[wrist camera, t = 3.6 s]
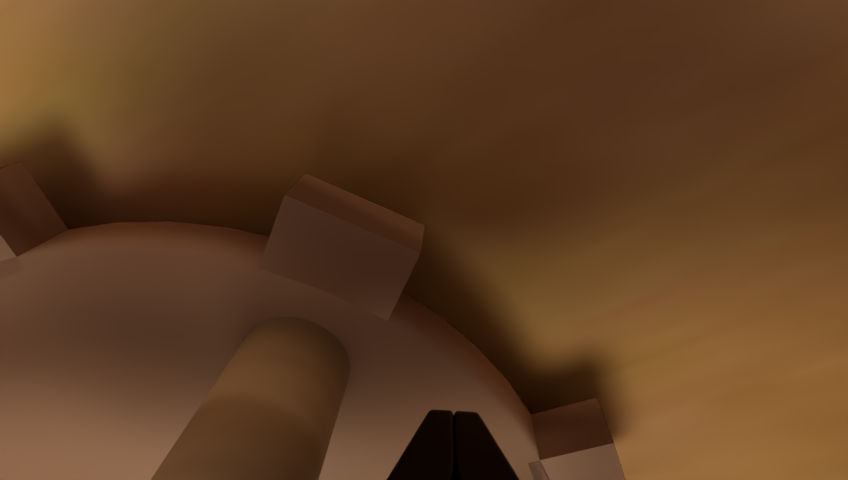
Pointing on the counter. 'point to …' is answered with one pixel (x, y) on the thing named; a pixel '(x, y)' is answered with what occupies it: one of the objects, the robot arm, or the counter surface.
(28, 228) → the flat round disc
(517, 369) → the counter surface
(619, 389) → the counter surface
